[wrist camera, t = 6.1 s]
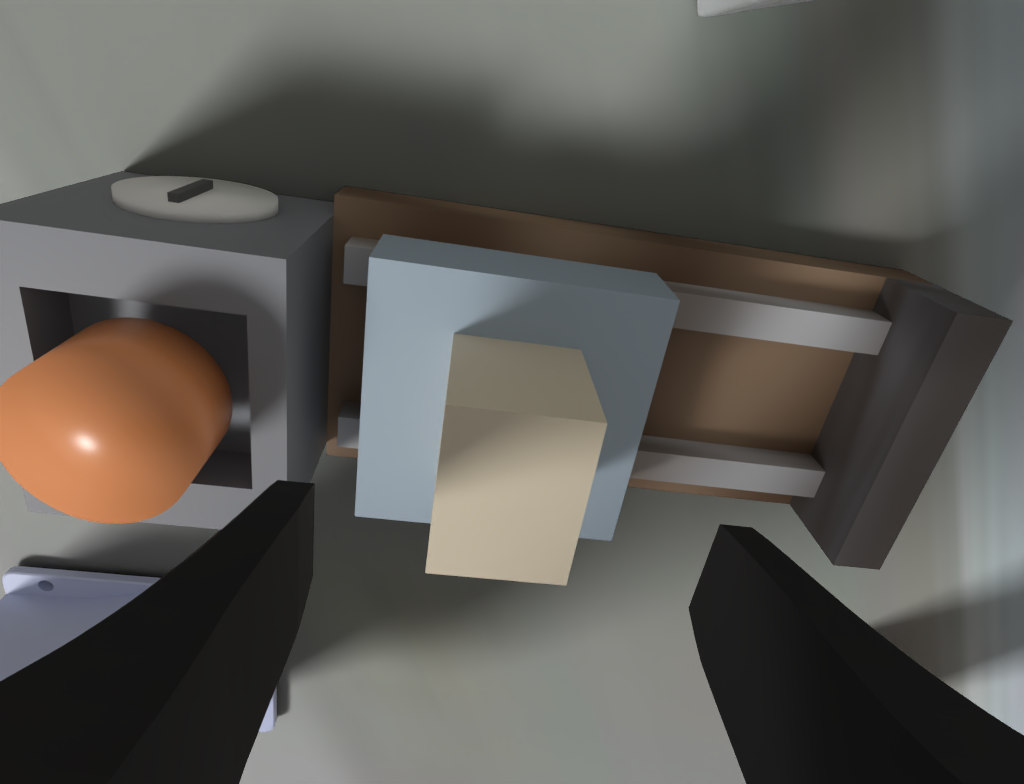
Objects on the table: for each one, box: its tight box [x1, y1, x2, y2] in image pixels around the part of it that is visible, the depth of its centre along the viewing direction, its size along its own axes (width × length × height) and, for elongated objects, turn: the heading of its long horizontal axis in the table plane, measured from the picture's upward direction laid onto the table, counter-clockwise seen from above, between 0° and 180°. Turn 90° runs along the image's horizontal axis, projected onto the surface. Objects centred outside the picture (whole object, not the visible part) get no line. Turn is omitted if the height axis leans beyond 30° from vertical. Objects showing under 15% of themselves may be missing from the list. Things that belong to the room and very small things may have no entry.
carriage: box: [355, 234, 680, 585], centre depth 15 cm, size 7×7×6 cm
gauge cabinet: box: [0, 171, 334, 530], centre depth 16 cm, size 6×8×6 cm
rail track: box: [326, 186, 1013, 569], centre depth 18 cm, size 17×8×4 cm, turn 81°
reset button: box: [0, 317, 233, 524], centre depth 13 cm, size 4×4×2 cm
